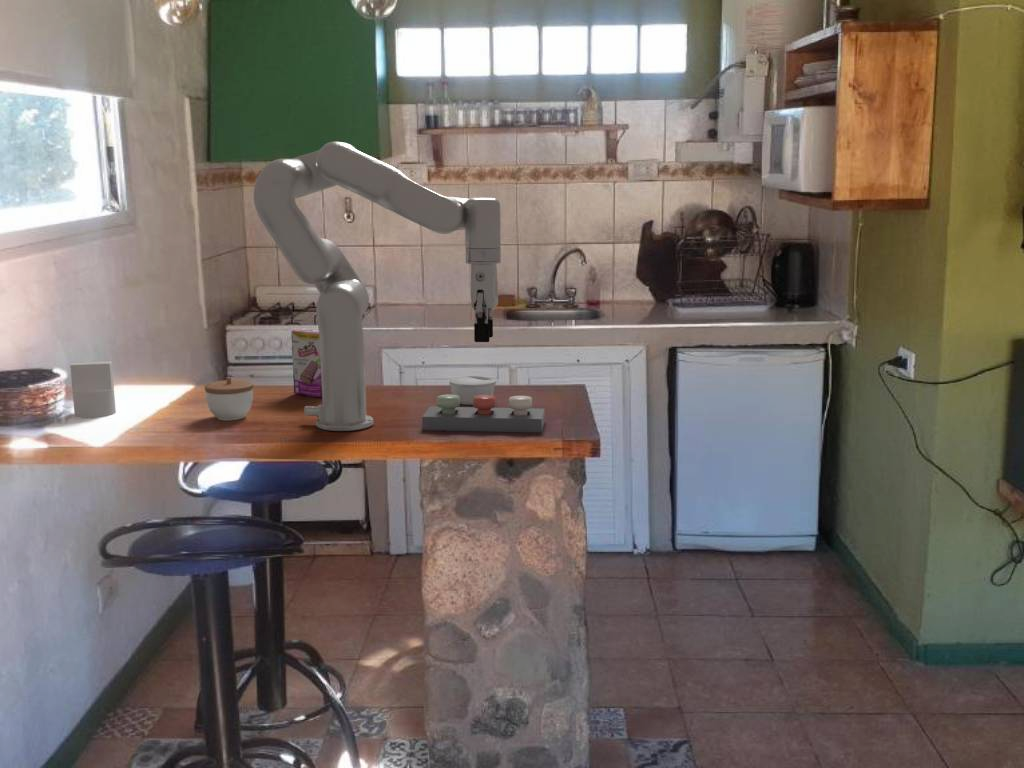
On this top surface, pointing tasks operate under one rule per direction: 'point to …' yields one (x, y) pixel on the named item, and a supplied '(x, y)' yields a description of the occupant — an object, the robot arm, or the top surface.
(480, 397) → the button red
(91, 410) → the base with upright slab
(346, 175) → the robot arm
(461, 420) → the button panel
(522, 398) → the button cream
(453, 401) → the button sage
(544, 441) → the top surface
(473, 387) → the ramekin
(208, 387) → the lidded jar
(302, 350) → the candy bar box
